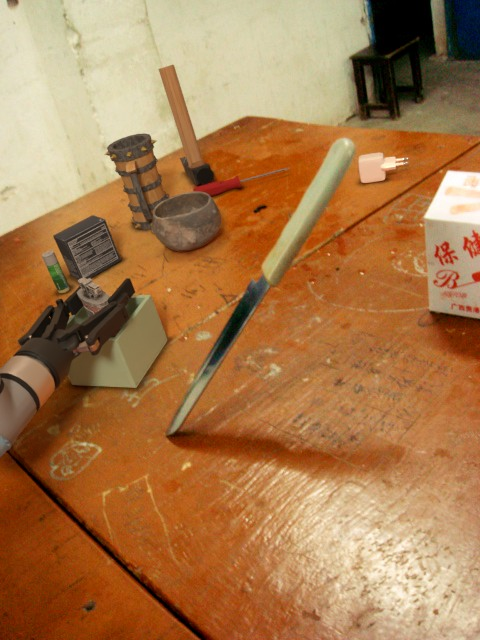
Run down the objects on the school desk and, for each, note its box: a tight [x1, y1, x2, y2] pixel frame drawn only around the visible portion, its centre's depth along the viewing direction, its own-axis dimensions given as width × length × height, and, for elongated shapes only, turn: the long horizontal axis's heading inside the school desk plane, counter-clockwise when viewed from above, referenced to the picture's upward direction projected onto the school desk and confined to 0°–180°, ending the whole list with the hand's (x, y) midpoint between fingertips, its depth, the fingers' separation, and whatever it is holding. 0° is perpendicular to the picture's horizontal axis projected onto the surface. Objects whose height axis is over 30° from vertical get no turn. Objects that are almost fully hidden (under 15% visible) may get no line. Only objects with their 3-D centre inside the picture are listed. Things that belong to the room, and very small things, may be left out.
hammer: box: [158, 64, 215, 186], centre depth 170 cm, size 20×5×30 cm, turn 17°
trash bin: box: [65, 294, 169, 389], centre depth 107 cm, size 13×13×10 cm
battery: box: [41, 249, 71, 295], centre depth 135 cm, size 3×3×10 cm
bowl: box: [150, 191, 222, 252], centre depth 139 cm, size 14×15×10 cm
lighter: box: [77, 277, 121, 338], centre depth 104 cm, size 8×3×10 cm, turn 40°
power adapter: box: [357, 151, 410, 184], centre depth 146 cm, size 11×5×6 cm, turn 78°
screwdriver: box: [192, 167, 291, 197], centre depth 162 cm, size 4×25×4 cm, turn 97°
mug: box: [103, 132, 170, 230], centre depth 152 cm, size 13×17×20 cm
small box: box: [52, 214, 122, 281], centre depth 141 cm, size 11×6×10 cm, turn 130°
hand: (110, 286), depth 107 cm, fingers closed on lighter, 7 cm apart
